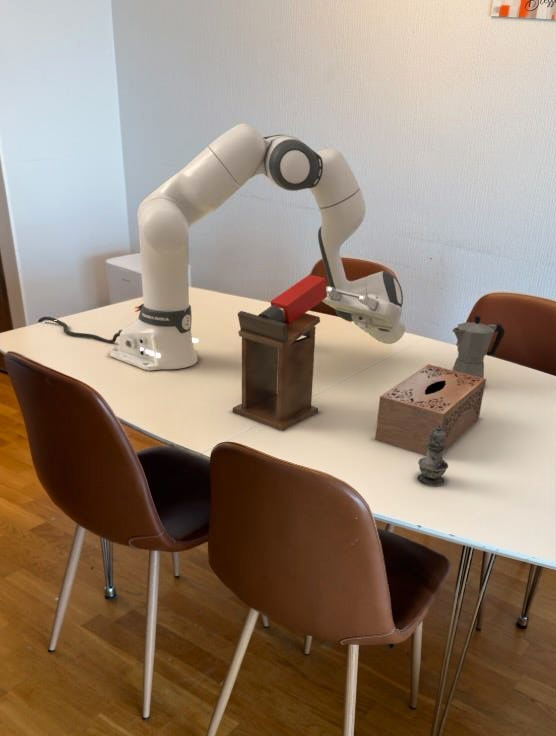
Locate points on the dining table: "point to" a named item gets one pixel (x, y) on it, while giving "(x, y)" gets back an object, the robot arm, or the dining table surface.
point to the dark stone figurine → (433, 459)
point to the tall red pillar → (297, 300)
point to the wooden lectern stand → (277, 369)
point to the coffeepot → (475, 346)
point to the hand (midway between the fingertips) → (345, 293)
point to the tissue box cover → (429, 408)
